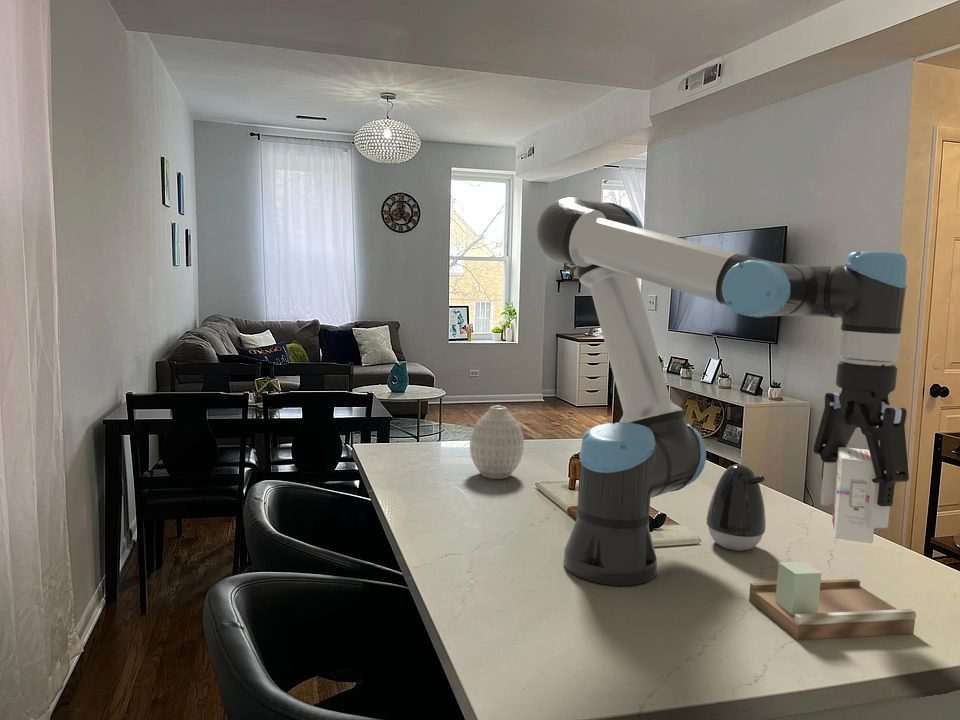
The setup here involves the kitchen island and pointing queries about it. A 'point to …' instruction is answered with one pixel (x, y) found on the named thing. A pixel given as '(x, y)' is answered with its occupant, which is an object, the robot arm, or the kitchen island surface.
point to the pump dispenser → (737, 509)
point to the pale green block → (798, 588)
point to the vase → (496, 443)
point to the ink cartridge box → (853, 495)
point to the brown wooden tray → (836, 612)
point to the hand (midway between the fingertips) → (852, 515)
